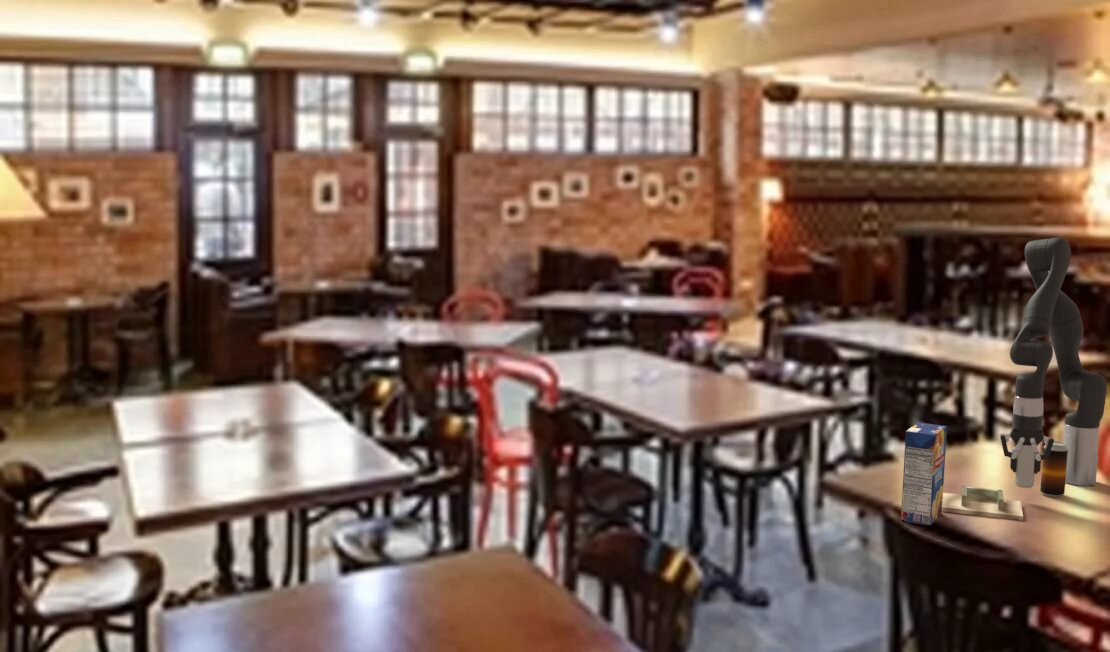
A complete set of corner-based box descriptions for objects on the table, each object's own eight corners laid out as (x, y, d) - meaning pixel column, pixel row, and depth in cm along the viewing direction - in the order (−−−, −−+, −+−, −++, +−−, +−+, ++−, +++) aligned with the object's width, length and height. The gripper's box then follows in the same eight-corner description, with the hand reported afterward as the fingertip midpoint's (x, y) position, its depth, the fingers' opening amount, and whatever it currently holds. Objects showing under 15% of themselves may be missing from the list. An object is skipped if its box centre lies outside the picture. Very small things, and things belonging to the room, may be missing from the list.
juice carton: (913, 508, 288) (918, 422, 284) (941, 513, 284) (947, 426, 280) (900, 520, 278) (905, 431, 274) (929, 525, 274) (935, 435, 270)
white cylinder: (1011, 483, 296) (1013, 441, 295) (1027, 482, 297) (1030, 441, 295) (1020, 488, 292) (1022, 446, 290) (1037, 487, 292) (1039, 445, 290)
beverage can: (1062, 492, 303) (1066, 441, 301) (1065, 499, 297) (1069, 447, 295) (1039, 490, 305) (1042, 439, 303) (1041, 496, 299) (1045, 444, 297)
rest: (1020, 505, 292) (1021, 490, 291) (1022, 520, 279) (1024, 505, 278) (942, 496, 299) (943, 482, 298) (941, 511, 286) (942, 496, 285)
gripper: (1055, 410, 292) (1051, 470, 295) (999, 407, 297) (996, 466, 300) (1058, 417, 285) (1054, 478, 288) (1000, 413, 290) (997, 473, 293)
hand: (1024, 472), depth 294 cm, fingers closed on white cylinder, 5 cm apart
